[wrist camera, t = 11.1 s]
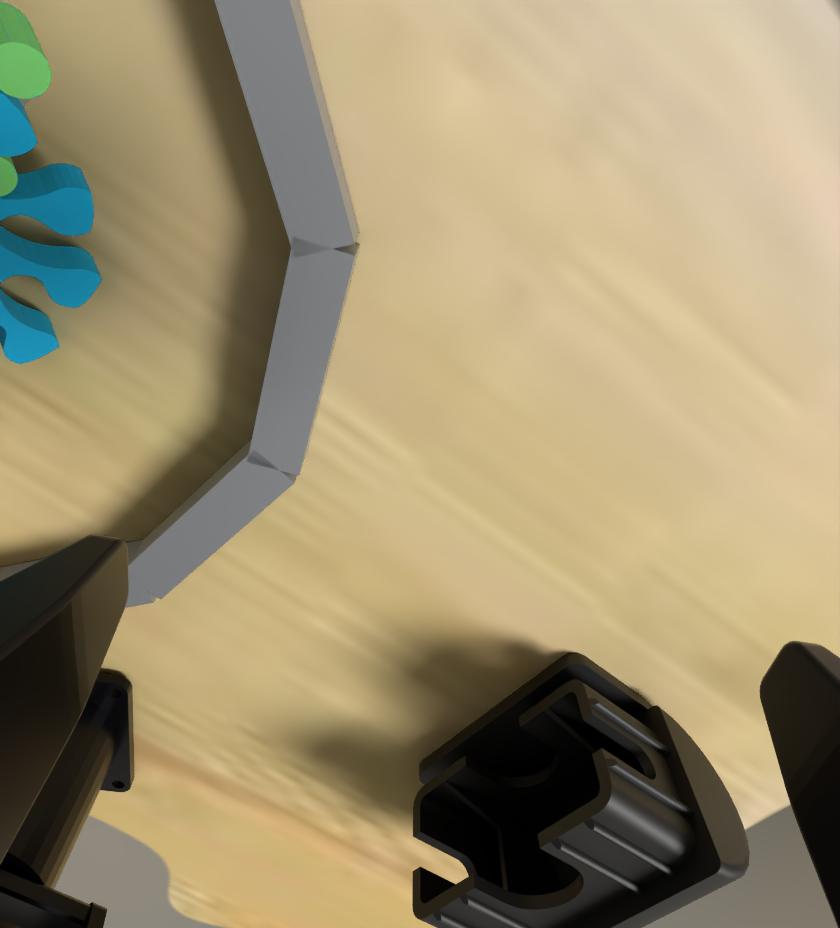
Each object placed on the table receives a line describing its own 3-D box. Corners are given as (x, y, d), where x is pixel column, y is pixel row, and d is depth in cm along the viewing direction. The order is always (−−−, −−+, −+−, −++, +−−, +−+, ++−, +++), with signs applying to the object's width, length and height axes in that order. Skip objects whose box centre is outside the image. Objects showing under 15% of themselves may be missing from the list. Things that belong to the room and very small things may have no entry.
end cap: (523, 835, 30) (549, 1016, 24) (406, 770, 28) (402, 953, 22) (701, 724, 26) (783, 906, 20) (582, 638, 24) (636, 815, 18)
